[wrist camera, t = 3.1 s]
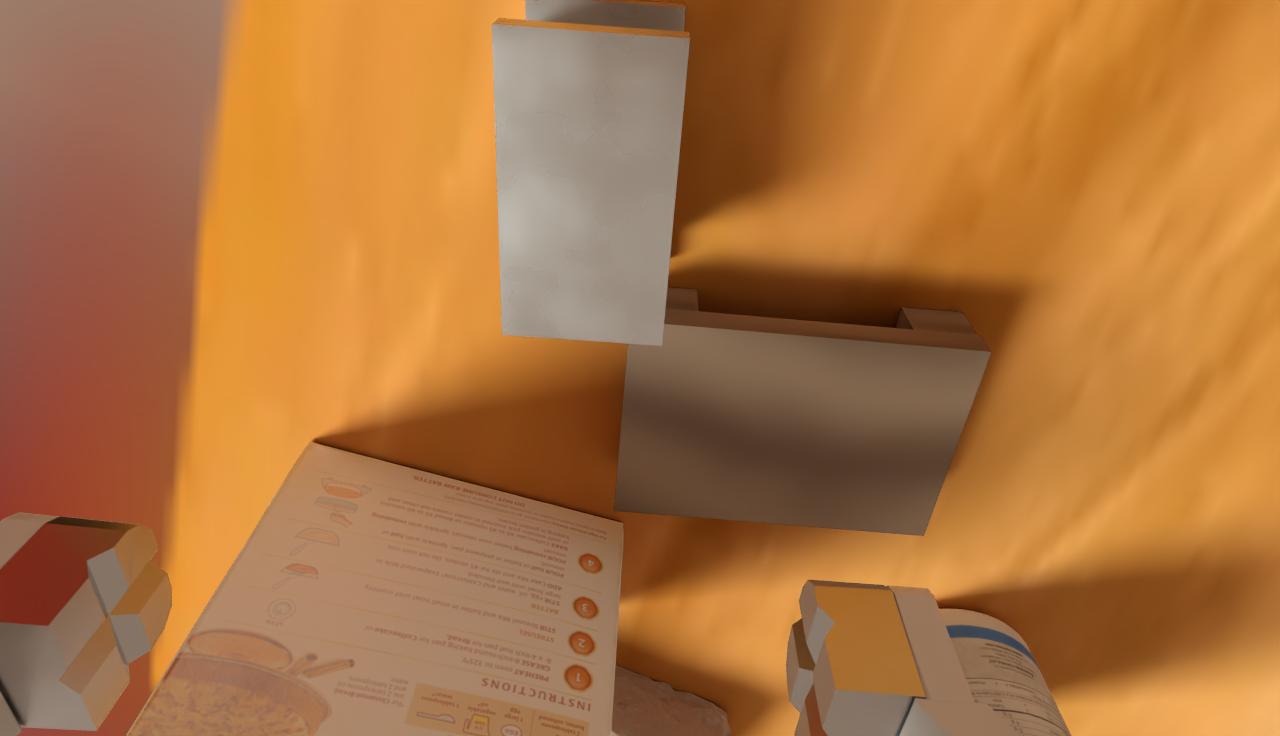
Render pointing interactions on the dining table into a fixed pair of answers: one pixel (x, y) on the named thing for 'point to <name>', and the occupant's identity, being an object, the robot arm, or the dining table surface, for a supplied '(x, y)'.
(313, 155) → the dining table surface
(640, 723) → the brick
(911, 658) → the robot arm
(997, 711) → the supplement tub
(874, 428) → the stand
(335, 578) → the coffeecake box
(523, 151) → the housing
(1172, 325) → the dining table surface
